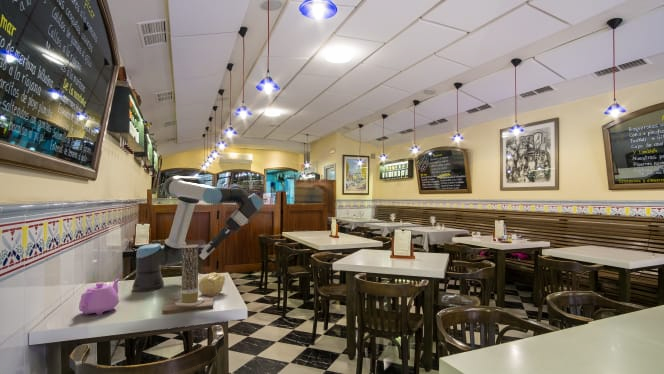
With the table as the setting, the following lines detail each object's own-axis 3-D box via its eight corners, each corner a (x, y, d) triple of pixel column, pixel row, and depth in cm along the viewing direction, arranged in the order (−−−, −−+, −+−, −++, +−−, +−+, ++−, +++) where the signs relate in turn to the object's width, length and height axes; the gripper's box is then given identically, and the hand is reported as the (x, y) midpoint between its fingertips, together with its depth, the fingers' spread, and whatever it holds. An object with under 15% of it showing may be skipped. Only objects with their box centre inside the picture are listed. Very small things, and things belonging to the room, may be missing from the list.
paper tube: (200, 299, 156) (200, 244, 157) (193, 303, 149) (193, 246, 150) (186, 298, 157) (186, 244, 158) (178, 303, 150) (178, 246, 151)
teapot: (106, 303, 158) (106, 277, 159) (132, 304, 156) (133, 277, 156) (65, 318, 139) (65, 287, 139) (95, 319, 136) (95, 289, 137)
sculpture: (216, 298, 165) (216, 275, 165) (194, 296, 167) (194, 274, 168) (228, 291, 176) (228, 270, 177) (207, 290, 179) (207, 270, 179)
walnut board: (167, 303, 157) (167, 298, 157) (213, 298, 164) (213, 294, 164) (162, 313, 142) (162, 309, 142) (212, 308, 148) (212, 304, 149)
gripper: (243, 228, 149) (207, 265, 144) (240, 225, 173) (209, 256, 167) (231, 216, 148) (193, 253, 142) (229, 214, 171) (197, 246, 166)
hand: (202, 255), depth 155 cm, fingers open, 13 cm apart
